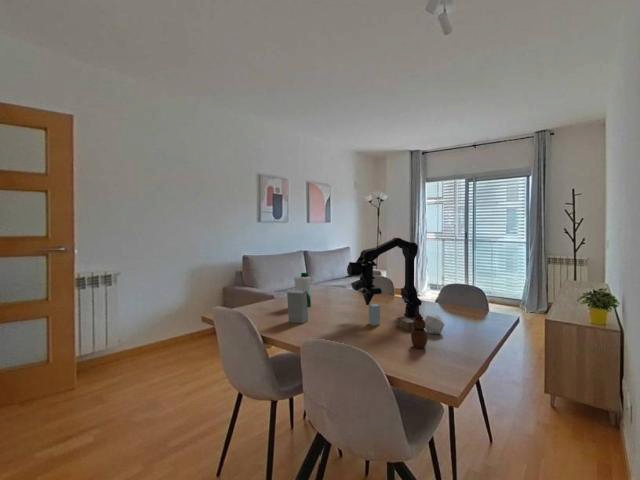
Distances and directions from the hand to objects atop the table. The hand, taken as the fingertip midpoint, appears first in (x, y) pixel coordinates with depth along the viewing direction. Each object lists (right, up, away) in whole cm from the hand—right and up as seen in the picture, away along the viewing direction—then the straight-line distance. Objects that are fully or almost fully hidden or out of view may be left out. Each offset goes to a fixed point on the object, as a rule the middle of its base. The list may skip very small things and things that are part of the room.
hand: (367, 304), depth 175 cm
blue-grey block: (+2, -8, -6) cm, 11 cm away
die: (+27, -9, -20) cm, 35 cm away
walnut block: (+15, -6, -8) cm, 18 cm away
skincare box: (-36, -9, -1) cm, 37 cm away
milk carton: (-35, -7, +30) cm, 46 cm away
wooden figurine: (+16, -10, -37) cm, 42 cm away
